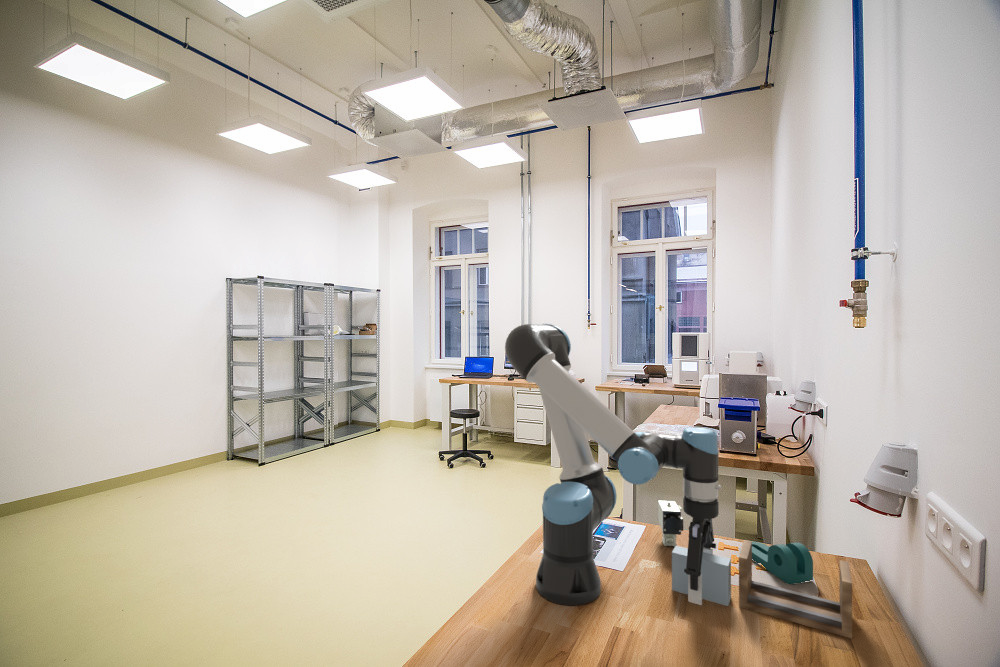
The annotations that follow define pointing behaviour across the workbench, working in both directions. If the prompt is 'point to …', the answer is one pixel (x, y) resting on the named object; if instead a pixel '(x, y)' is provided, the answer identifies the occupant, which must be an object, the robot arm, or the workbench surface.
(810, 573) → the bracket
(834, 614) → the track
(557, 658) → the workbench surface
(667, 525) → the pneumatic valve
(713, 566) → the door panel
